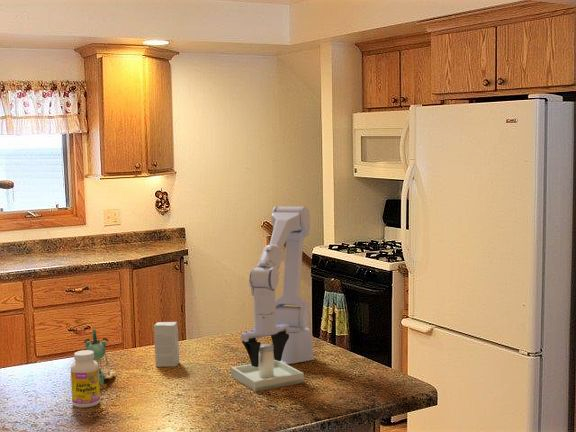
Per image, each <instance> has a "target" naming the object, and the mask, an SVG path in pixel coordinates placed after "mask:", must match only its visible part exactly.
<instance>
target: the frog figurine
mask: <svg viewBox="0 0 576 432" xmlns="http://www.w3.org/2000/svg"><path fill="white" fill-rule="evenodd" d="M107 343H109V339H108V338H107V337H103V338H102V341H100V339H98V335H97V330H96V329H94V328H93V329H92V340H90V339H89V338H86V339H85V340H84V342H83V344H84V347H85V348H86V350H91V351H94V358H93V360H94V361H96V362H97V363H98V365H99V366H100V365H102V359H103V357H104V356H105V362H106V366H108V365H109V361H108V358H107V357H108V356H107V353H106V346H107ZM115 375H116V371H114V369H107V368H105V369H103V366H100V368H99V384H100V389H101V390H103V389H105V388H107V385H108V383H105V380H107V379H112V378H113V377H114V376H115Z"/></svg>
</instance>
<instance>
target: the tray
mask: <svg viewBox="0 0 576 432" xmlns="http://www.w3.org/2000/svg"><path fill="white" fill-rule="evenodd" d="M304 375H305V374H304V372H303V371H300V370H298V369H296V368H295V367H292V366H291V365H290V364H285V363H283V362H282V361H277V360H274V376H273V377H270V378H262V377H259V365H258V367H254V366H252V365H251V363H249V364H242V365H238V366H231V367H230V376H231V378H233V379H235V380H236V381H237V382H239V383H241V384H242V385H244V386H245V387H247V388H249V389H250V390H252V391H253V392H255V393H256V392H261V391H267V390H273V389H277V388H278V389H279V388H281V387H282V388H283V387H287V386H293V385H299V384H303V383H305V377H304Z"/></svg>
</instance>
